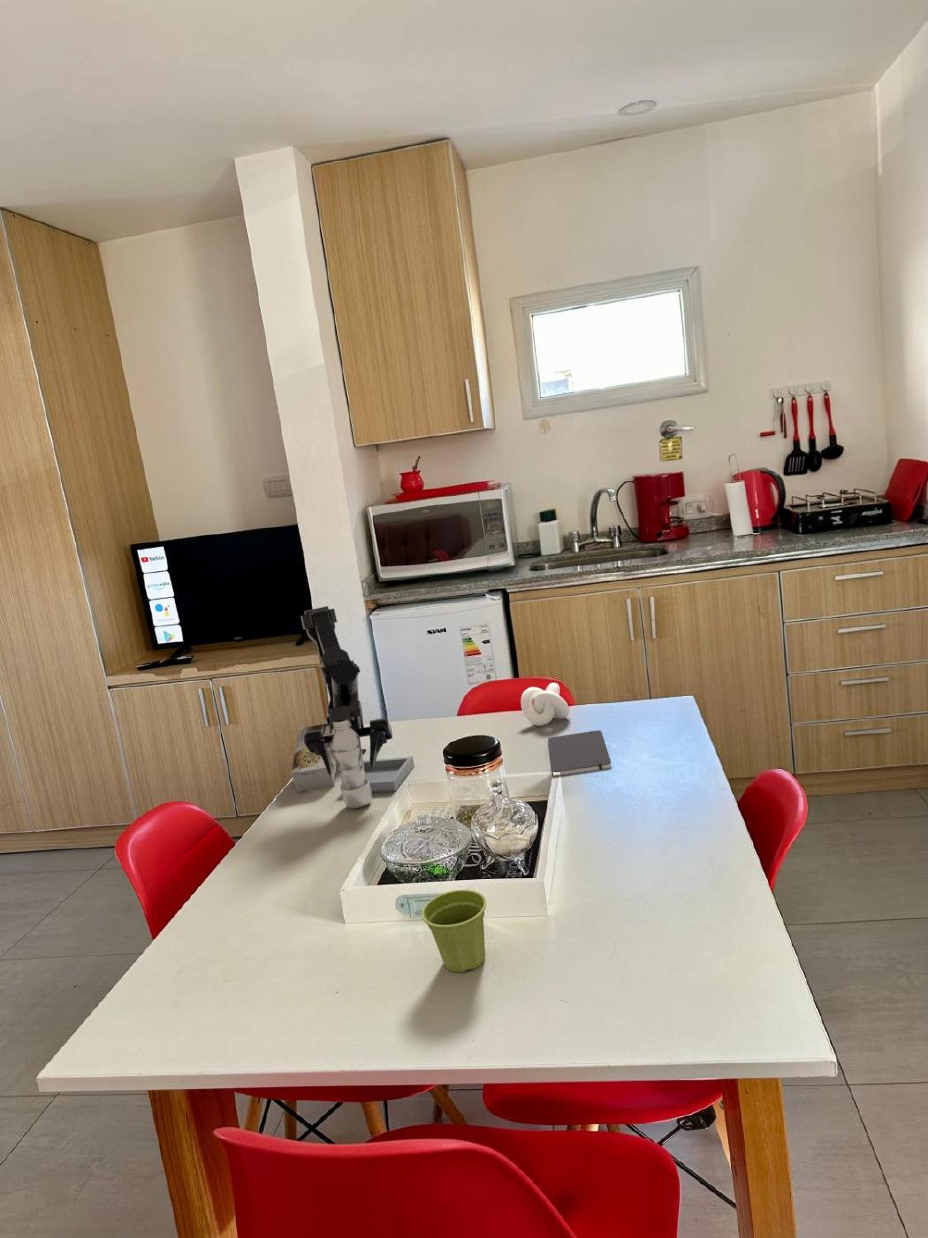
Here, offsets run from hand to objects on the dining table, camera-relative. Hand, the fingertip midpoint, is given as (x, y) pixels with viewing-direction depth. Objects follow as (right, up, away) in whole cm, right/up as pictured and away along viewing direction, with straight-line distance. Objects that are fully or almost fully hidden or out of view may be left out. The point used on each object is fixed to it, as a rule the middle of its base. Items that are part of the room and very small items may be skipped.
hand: (350, 771), depth 185 cm
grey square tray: (+5, -5, +15) cm, 17 cm away
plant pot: (+24, -17, -60) cm, 67 cm away
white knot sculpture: (+47, +6, +35) cm, 58 cm away
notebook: (+50, +1, +10) cm, 51 cm away
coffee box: (-11, -5, +15) cm, 19 cm away
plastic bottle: (+2, -8, +3) cm, 9 cm away
